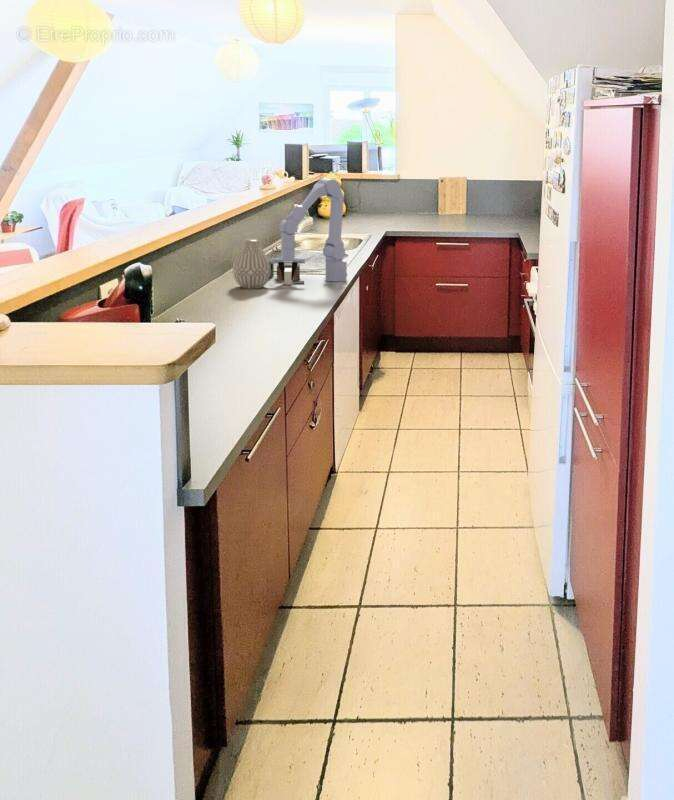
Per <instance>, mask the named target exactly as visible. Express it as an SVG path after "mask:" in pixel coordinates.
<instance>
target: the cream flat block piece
mask: <svg viewBox="0 0 674 800" xmlns="http://www.w3.org/2000/svg"><path fill="white" fill-rule="evenodd" d="M291 276H292V267H285V270H284V280H283V283H284V285H292V284H293V280H291Z"/></svg>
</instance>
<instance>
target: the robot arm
mask: <svg viewBox="0 0 674 800" xmlns="http://www.w3.org/2000/svg"><path fill="white" fill-rule="evenodd" d="M341 186H342V184H341V183H340V182H339V181H337V180H336V179H332V178H325V177H321V178H319V179H318V180H317V182H316V183H314V184H313V187H312V189H311V190H310V192H309V193H308V194H307V196H306V197H305V199H303V201H302V203H301V204H300V205H296V206H293V208H292V210H291V212H290V213H289V214H288V215H286V217H285V219H283V220H281V222H280V223H279V225H278V230H279V231H280V233H281V234H280V236H281V237H280V240H281V242H280V245H281V246H280V248H281V249H280V252H281V253H280V257H270V260H271V263H273V264H277V263H278V266H279V268H280V270H281V273H282V277H283V280H282V281H284V263H292V276H291V280H292V281H294V280H293V276H294V273H295V270H296V268H297V265H298V263H300V264H306V258H299V257H296V256H295V255H296V253H295V252H296V251H295V249H296V247H295V246H296V245H295V240H296V239H295V236H296V234H295V233H296V232H297V231H298V226H299V224H301V222H302V221H303V220H305V218H306V216H307V215H308V213H307V212H308V210H309V208H311V206H312V205H314V203H315V202H317V201H318V199H319V198H321V197H325V196H326V197H327V198H328V199H329V201H330V211H329V223H328V225H329V226H328V237H327V238H326V240H325V244H324V246H323V248H322V252H323V256H324V257H325V277H324V281H325V282H347V277H348V273H347V270H348V269H347V268H348V267H347V266H348V265H347V263H348V261H347V259H346V260H345V259H343V258H344V257H345V255H346V250H345V247H344V245H345V243H344V241H343V239H342V227H343V215H344V212H343V211H344V201H345V199H344V198H345V197H344V193H343V192H342V189H341Z"/></svg>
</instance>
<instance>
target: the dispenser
mask: <svg viewBox="0 0 674 800" xmlns="http://www.w3.org/2000/svg"><path fill="white" fill-rule="evenodd" d="M300 264H301V263H298V265H297V268H296V270H295V273H294V276H293V280H292V281H301V280H300V279H301V276H300V275H301V273H300V271H301V269H300ZM285 267H292V263H284V270H285ZM276 280H277V281H284V280H283V277H282V273H281V270H280V268H279V266H278V263H276Z"/></svg>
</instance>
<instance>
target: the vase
mask: <svg viewBox="0 0 674 800" xmlns="http://www.w3.org/2000/svg"><path fill="white" fill-rule="evenodd" d="M269 260H270V259H269V257H268V256H267V254H266V252H265V251H264V250H263V248H262V247H261V244H260V242H259V240H258V239H257V238H247V239H245V240H244V241H243V244H242V246H241V249H240V250H239V251H238V253H237V255H236V257H235V258H234V261H233V265H232V275H233V278H234V280H235V282H236V283H237V285H239V287H241V288H242V289H247V290H248V289H249V290H257V289H261V288H263V287H264V286H265V285H266V284H267V283H268V281H269V280H270V279H271V278H270V274H271V267H270V263H269Z"/></svg>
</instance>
